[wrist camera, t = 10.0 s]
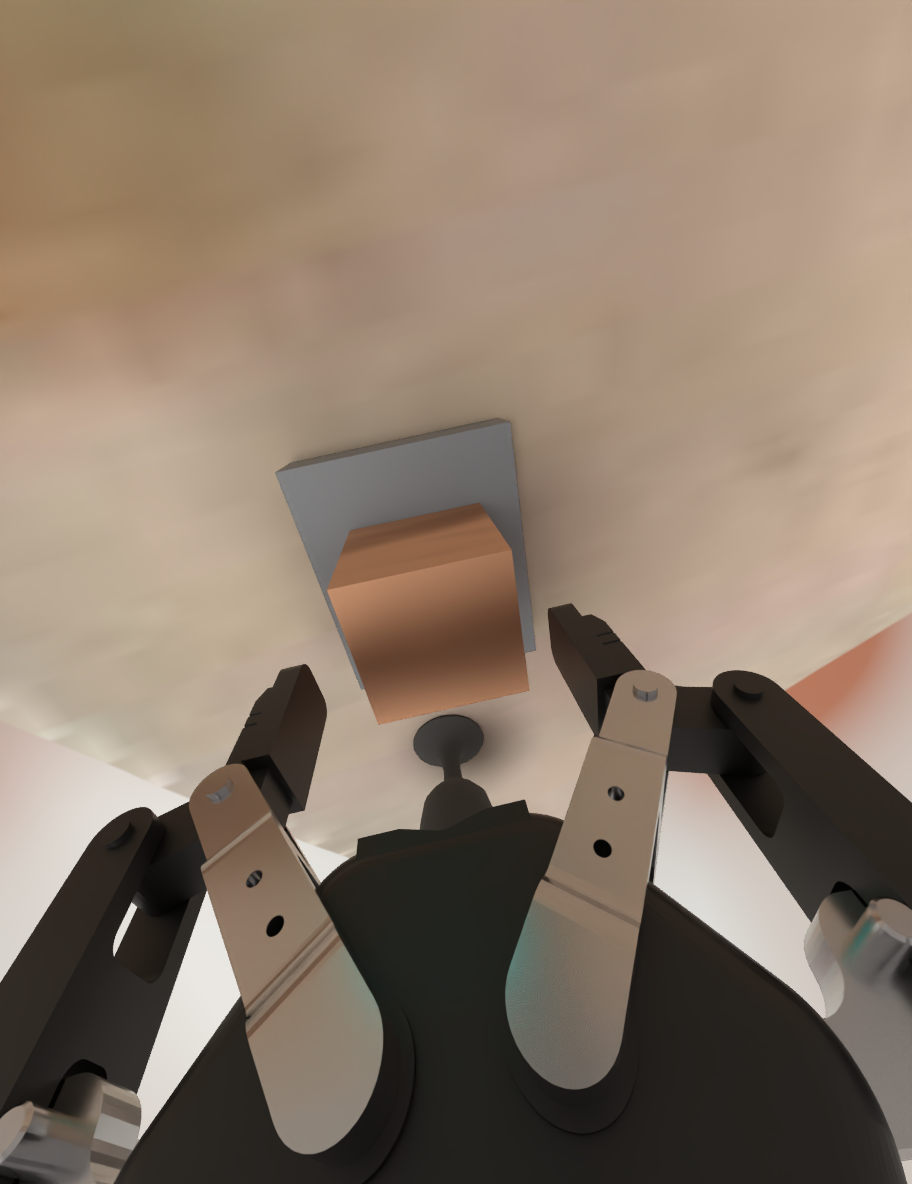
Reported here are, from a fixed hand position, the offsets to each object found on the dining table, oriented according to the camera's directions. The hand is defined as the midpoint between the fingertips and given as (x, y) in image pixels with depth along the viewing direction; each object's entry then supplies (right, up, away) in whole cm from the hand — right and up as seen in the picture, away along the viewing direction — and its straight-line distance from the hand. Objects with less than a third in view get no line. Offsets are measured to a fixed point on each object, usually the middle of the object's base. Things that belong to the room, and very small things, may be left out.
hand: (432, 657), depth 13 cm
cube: (-1, +3, +6) cm, 7 cm away
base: (-1, +4, +9) cm, 10 cm away
